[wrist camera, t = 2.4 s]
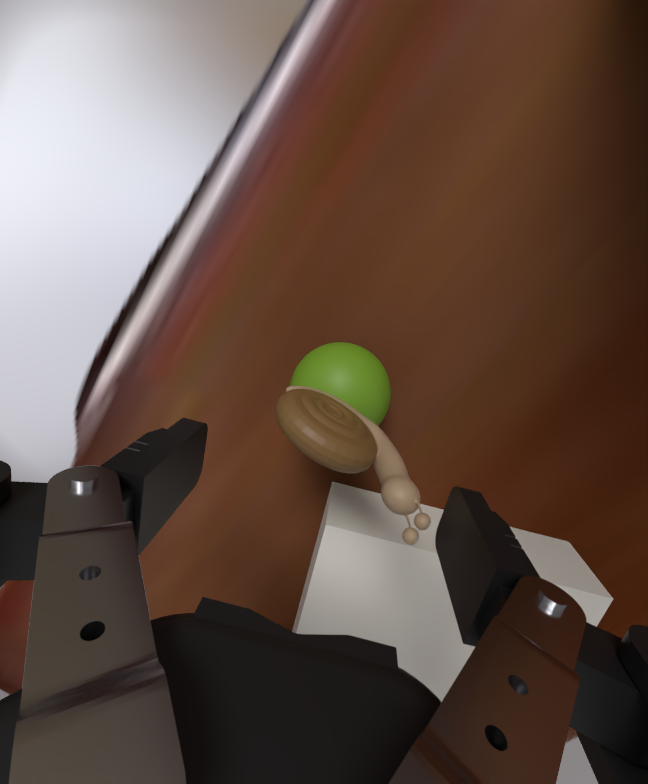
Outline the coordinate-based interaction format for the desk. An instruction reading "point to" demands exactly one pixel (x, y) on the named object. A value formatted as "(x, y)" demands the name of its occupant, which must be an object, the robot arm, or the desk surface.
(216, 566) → the desk surface
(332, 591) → the cream block
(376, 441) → the snail figurine
